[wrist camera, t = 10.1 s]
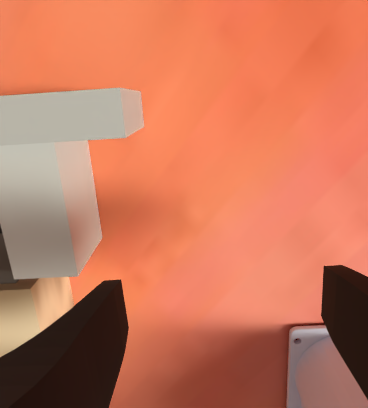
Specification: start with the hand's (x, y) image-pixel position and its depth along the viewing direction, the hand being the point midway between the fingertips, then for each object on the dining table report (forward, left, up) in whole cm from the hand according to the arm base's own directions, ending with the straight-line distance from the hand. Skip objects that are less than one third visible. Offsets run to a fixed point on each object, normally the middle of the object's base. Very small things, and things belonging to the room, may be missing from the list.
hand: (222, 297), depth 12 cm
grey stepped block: (+2, +11, -10) cm, 15 cm away
